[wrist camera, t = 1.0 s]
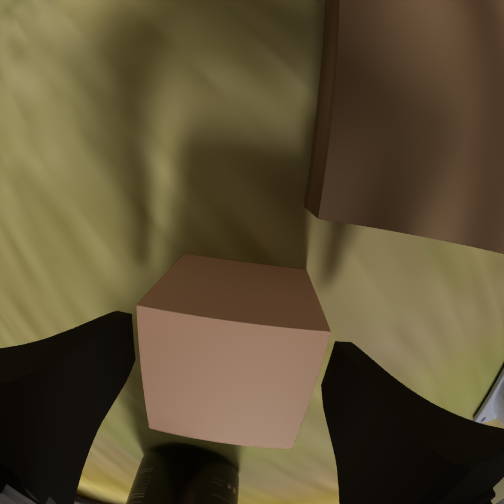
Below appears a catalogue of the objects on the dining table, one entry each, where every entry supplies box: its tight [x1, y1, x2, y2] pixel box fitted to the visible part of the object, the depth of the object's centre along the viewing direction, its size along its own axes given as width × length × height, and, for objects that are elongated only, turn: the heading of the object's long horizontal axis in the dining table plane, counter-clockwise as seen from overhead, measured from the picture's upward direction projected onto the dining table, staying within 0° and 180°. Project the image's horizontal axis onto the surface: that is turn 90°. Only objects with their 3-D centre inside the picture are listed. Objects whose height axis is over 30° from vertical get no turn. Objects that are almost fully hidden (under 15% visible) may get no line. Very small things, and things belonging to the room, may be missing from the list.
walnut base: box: [304, 0, 504, 254], centre depth 8 cm, size 14×14×3 cm
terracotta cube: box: [136, 254, 331, 449], centre depth 10 cm, size 5×5×5 cm
